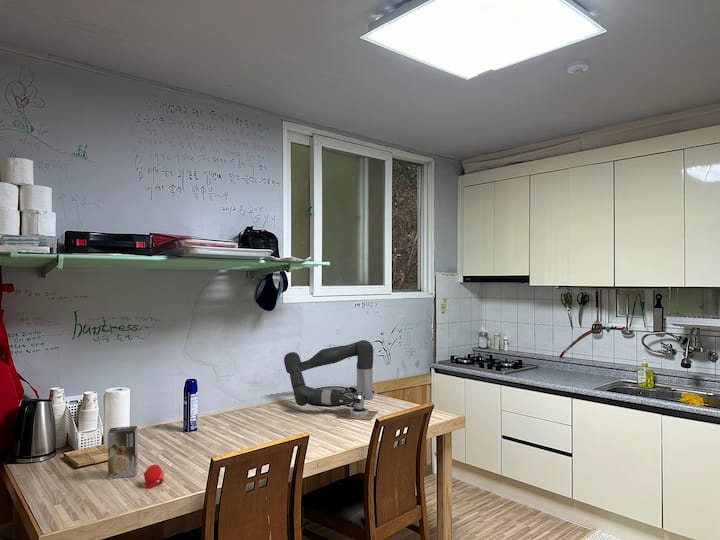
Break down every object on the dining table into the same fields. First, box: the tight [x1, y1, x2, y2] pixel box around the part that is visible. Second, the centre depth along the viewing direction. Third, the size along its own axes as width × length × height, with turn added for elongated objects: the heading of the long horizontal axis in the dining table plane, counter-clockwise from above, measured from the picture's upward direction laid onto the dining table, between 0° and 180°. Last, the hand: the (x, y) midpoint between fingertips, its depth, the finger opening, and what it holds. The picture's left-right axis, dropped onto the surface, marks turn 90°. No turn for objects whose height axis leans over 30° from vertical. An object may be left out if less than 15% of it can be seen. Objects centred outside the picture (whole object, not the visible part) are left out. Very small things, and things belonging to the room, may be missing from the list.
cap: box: [143, 464, 165, 490], centre depth 170 cm, size 8×6×6 cm
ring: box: [349, 407, 370, 417], centre depth 253 cm, size 9×9×2 cm
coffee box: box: [107, 425, 139, 479], centre depth 179 cm, size 9×6×16 cm
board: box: [335, 409, 379, 422], centre depth 254 cm, size 18×18×1 cm
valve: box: [345, 393, 365, 408], centre depth 274 cm, size 7×7×12 cm
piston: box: [354, 391, 365, 412], centre depth 253 cm, size 5×5×11 cm
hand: (362, 398), depth 253 cm, fingers open, 8 cm apart
